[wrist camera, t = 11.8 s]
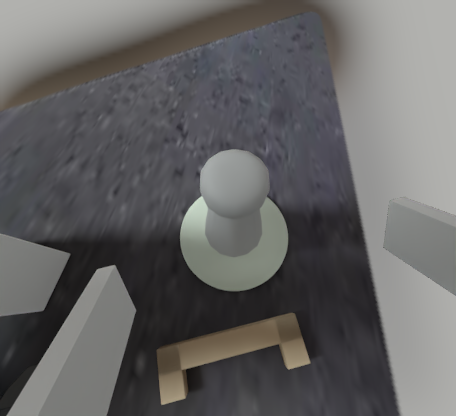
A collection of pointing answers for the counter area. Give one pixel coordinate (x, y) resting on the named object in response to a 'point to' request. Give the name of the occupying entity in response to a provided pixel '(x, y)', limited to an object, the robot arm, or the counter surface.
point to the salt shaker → (234, 201)
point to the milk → (27, 275)
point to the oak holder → (227, 351)
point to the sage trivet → (241, 265)
